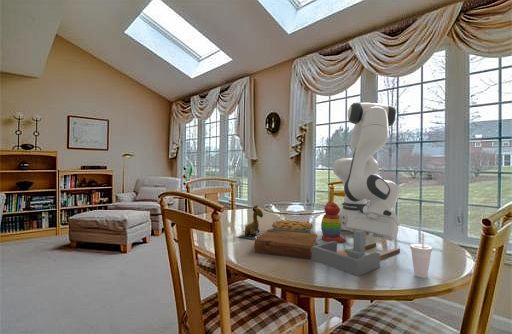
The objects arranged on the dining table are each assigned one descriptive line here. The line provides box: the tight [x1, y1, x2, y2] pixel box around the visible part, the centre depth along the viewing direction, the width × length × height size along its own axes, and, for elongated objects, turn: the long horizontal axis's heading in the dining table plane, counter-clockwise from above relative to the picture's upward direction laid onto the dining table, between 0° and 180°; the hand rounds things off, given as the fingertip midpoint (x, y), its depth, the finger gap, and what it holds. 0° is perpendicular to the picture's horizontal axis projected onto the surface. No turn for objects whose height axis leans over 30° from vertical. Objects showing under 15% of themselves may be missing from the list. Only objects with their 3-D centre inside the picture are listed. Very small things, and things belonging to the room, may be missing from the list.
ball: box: [336, 250, 348, 256], centre depth 104 cm, size 5×5×5 cm
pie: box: [271, 219, 314, 234], centre depth 153 cm, size 22×22×5 cm
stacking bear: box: [320, 201, 346, 243], centre depth 137 cm, size 11×10×18 cm
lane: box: [343, 241, 401, 261], centre depth 116 cm, size 12×22×2 cm, turn 126°
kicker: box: [344, 230, 370, 259], centre depth 110 cm, size 8×9×10 cm
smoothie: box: [409, 232, 433, 279], centre depth 94 cm, size 6×6×14 cm
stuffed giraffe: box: [240, 204, 265, 241], centre depth 146 cm, size 16×18×16 cm
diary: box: [253, 229, 319, 260], centre depth 122 cm, size 23×19×6 cm
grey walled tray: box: [311, 241, 381, 277], centre depth 105 cm, size 20×13×5 cm, turn 36°
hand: (362, 243), depth 112 cm, fingers closed
